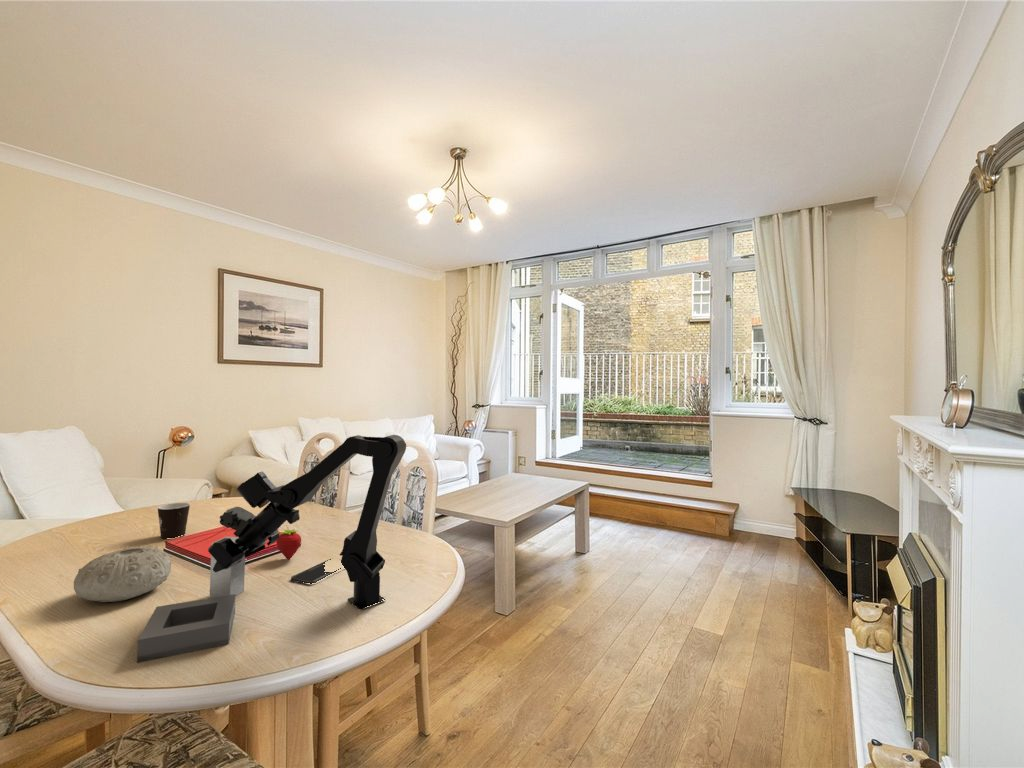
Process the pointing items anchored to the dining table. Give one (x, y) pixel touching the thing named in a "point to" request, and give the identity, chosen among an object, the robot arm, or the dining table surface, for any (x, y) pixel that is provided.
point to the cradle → (187, 627)
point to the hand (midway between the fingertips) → (222, 566)
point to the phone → (312, 574)
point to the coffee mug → (173, 519)
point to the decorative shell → (122, 574)
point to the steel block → (227, 577)
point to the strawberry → (288, 543)
